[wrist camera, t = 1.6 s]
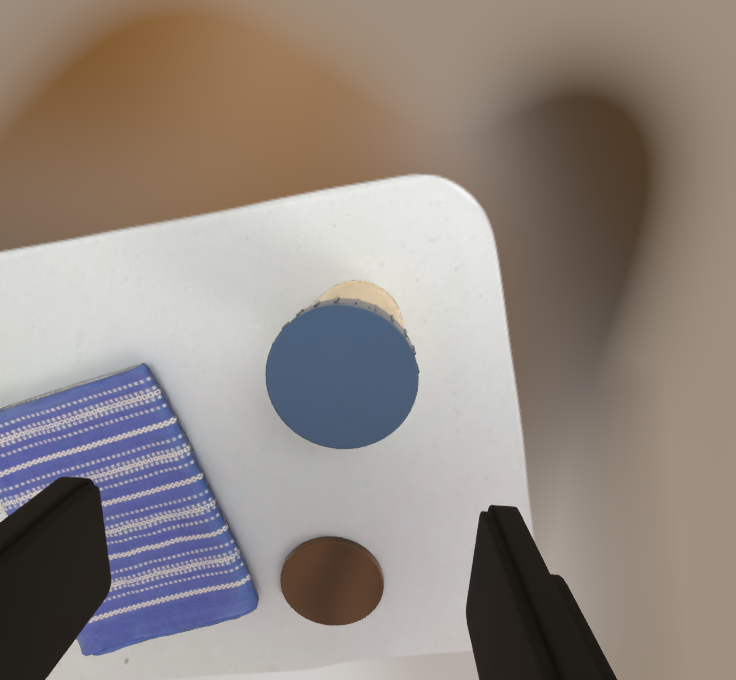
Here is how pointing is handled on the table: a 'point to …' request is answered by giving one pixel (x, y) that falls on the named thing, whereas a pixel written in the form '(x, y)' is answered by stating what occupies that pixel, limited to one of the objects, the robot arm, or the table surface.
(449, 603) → the table surface
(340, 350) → the lid
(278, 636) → the table surface
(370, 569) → the coaster
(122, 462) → the dish towel
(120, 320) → the table surface
